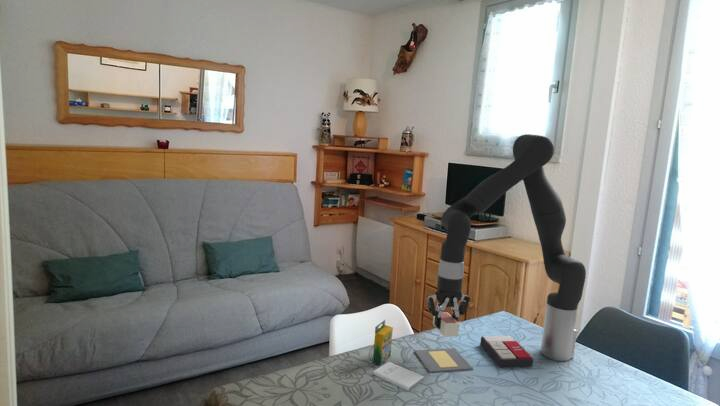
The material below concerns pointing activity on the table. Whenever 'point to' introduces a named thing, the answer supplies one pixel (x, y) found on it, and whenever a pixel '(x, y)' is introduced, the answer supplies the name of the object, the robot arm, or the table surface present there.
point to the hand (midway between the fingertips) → (445, 327)
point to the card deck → (448, 325)
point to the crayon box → (382, 343)
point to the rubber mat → (442, 360)
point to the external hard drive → (398, 376)
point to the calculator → (506, 351)
